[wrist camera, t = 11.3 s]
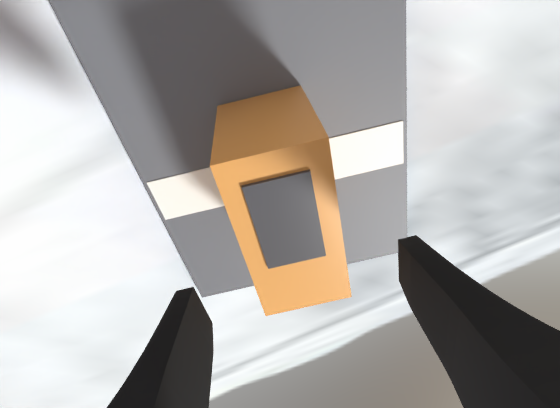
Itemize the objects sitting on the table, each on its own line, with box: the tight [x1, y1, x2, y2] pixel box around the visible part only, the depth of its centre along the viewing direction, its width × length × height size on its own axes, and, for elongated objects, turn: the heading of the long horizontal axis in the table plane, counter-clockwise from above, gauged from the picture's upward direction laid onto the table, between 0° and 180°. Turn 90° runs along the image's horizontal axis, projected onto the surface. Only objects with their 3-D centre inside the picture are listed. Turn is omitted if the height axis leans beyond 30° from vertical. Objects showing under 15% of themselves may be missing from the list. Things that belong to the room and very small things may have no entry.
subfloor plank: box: [49, 0, 407, 297], centre depth 18 cm, size 14×21×1 cm, turn 12°
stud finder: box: [210, 85, 351, 316], centre depth 16 cm, size 4×8×6 cm, turn 12°
